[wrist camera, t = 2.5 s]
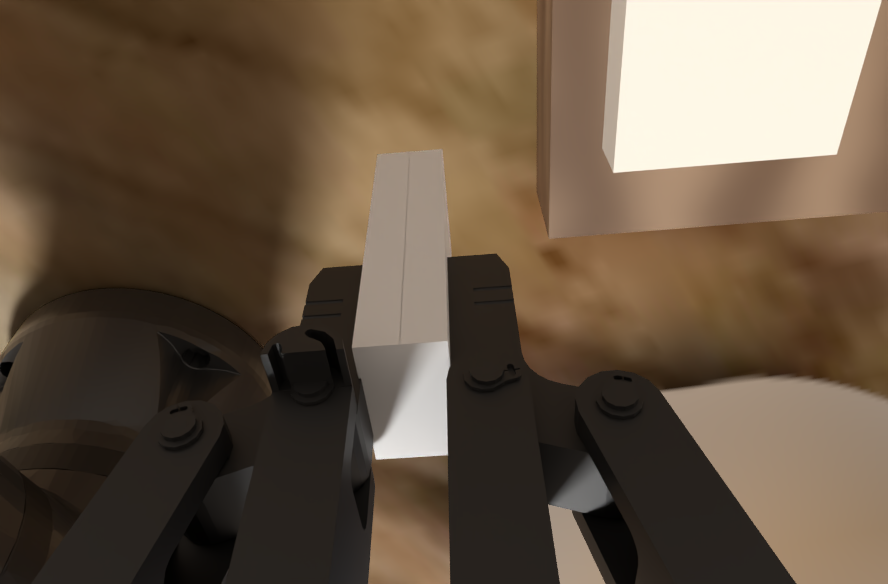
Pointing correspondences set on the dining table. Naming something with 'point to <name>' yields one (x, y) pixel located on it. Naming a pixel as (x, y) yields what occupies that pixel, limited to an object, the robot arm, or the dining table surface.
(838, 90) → the ceramic tile
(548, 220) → the riser board
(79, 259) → the dining table surface
